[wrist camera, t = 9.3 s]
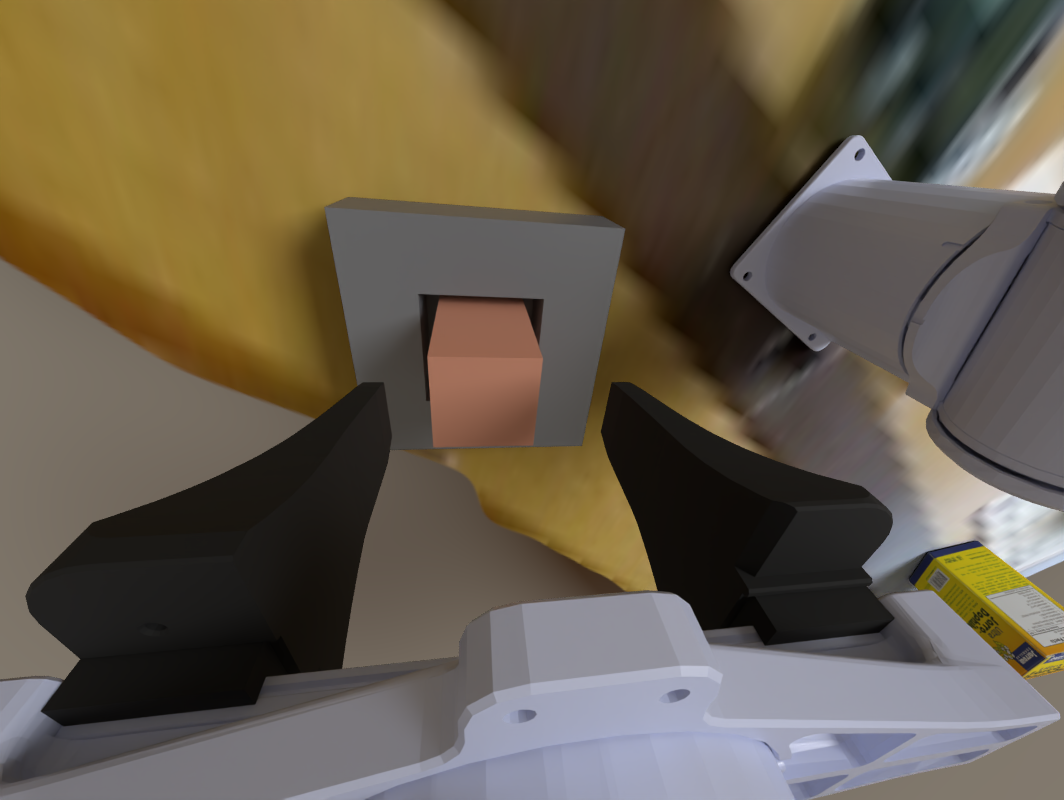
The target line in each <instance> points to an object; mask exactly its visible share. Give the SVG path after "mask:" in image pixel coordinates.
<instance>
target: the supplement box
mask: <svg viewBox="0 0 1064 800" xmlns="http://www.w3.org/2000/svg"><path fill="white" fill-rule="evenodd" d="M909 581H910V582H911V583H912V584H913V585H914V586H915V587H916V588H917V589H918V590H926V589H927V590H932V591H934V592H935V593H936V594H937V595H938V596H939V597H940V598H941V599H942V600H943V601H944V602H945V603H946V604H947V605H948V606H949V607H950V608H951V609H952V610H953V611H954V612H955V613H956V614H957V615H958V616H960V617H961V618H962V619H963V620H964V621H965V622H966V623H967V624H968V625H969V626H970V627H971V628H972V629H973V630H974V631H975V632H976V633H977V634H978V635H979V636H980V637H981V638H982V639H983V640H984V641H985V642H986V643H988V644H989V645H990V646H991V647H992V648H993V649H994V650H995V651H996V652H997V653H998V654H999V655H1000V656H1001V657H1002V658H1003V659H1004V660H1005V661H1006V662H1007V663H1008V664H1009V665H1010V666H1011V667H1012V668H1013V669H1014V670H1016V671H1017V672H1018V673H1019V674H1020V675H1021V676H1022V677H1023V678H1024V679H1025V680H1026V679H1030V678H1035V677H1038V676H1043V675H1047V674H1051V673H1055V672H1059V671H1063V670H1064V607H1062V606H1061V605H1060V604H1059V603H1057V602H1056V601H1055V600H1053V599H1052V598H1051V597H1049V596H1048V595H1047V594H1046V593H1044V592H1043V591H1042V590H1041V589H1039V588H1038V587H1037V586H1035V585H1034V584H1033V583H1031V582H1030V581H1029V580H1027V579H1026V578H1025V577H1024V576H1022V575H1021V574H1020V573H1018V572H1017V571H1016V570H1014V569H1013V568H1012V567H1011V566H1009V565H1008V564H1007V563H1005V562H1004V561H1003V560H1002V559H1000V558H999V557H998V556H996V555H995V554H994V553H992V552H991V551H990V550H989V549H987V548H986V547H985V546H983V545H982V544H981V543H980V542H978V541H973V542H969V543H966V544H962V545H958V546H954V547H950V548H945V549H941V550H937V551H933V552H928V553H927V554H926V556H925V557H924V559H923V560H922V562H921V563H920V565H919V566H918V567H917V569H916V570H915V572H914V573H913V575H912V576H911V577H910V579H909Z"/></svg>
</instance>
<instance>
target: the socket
mask: <svg viewBox="0 0 1064 800" xmlns="http://www.w3.org/2000/svg"><path fill="white" fill-rule="evenodd" d="M325 213H326V218H327V224H328V229H329V234H330V240H331V245H332V251H333V256H334V261H335V267H336V272H337V277H338V283H339V288H340V294H341V299H342V304H343V310H344V315H345V321H346V326H347V331H348V337H349V342H350V348H351V353H352V358H353V364H354V369H355V374H356V380H357V385H360V384H361V383H363V382H384V385H385V392H386V398H387V405H388V412H389V418H390V425H391V432H392V440H391V446H390V450H409V449H456V448H504V447H551V446H582V443H583V438H584V433H585V428H586V423H587V418H588V413H589V408H590V403H591V398H592V393H593V388H594V383H595V378H596V373H597V368H598V363H599V358H600V353H601V348H602V343H603V337H604V332H605V327H606V322H607V317H608V312H609V307H610V302H611V297H612V292H613V287H614V282H615V277H616V272H617V267H618V262H619V257H620V252H621V247H622V242H623V237H624V232H625V228H623V227H621V226H619V225H617V224H615V223H614V222H612V221H610V220H608V219H606V218H604V217H602V216H591V215H578V214H565V213H552V212H539V211H526V210H512V209H499V208H486V207H473V206H460V205H447V204H434V203H421V202H407V201H394V200H381V199H368V198H355V197H347V198H345V199H343V200H340V201H338V202H336V203H333V204H331V205H328V206H326V207H325ZM440 295H457V296H482V297H507V298H522V299H523V301H524V304H525V307H526V310H527V313H528V316H529V319H530V322H531V325H532V328H533V331H534V334H535V337H536V339H537V342H538V345H539V348H540V351H541V354H542V357H543V363H542V372H541V381H540V390H539V398H538V407H537V416H536V425H535V434H534V443H533V445H532V446H479V447H433V434H432V419H431V404H430V389H429V374H428V359H427V356H428V351H429V346H430V341H431V336H432V331H433V326H434V321H435V316H436V311H437V307H438V302H439V297H440Z"/></svg>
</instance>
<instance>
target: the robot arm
mask: <svg viewBox="0 0 1064 800" xmlns="http://www.w3.org/2000/svg"><path fill="white" fill-rule="evenodd" d="M857 151H859V152H858V155H857V157H856V158H854V157H855V154H856V152H857ZM747 272H748V275H747V277H746V278H744V279H743V276H744V274H745V273H747ZM730 275H731V277H732V278H733V279H734V280H735V281H736V282H737V283H739V284H740V285H741V286H742V287H743V288H744V289H745V290H746V291H747V292H749V293H750V294H751V295H752V296H753V297H754V298H755V299H756V300H757V301H758V302H760V303H761V304H762V305H763V306H764V307H765V308H766V309H767V310H768V311H769V312H771V313H772V314H773V315H774V316H775V317H776V318H777V319H778V320H779V321H781V322H782V323H783V324H784V325H785V326H786V327H787V328H788V329H789V330H790V331H792V332H793V333H794V334H795V335H796V336H797V337H798V338H799V339H800V340H802V341H803V342H804V343H805V344H806V345H807V346H808V347H809V348H810V349H812V350H814V351H820V350H822V349H823V348H825V347H826V346H827V345H828V344H829V343H830V342H831V341H833V342H835V343H836V344H838V345H840V346H842V347H844V348H846V349H847V350H849V351H851V352H853V353H855V354H857V355H859V356H860V357H862V358H864V359H866V360H868V361H870V362H872V363H873V364H875V365H877V366H879V367H881V368H883V369H884V370H886V371H888V372H890V373H892V374H894V375H896V376H897V377H899V378H901V379H903V380H905V381H907V382H909V385H908V388H907V390H906V395H908V396H910V397H911V398H913V399H915V400H917V401H918V402H920V403H922V404H924V405H926V406H927V407H929V408H931V411H930V412H929V414H928V417H927V419H926V429H927V431H928V434H929V436H930V438H931V439H932V440H933V442H934V443H935V444H936V446H937V447H938V448H939V449H940V450H941V451H942V452H943V453H944V454H946V455H947V456H948V457H949V458H951V459H952V460H953V461H954V462H955V463H956V464H957V465H959V466H960V467H961V468H963V469H964V470H965V471H967V472H968V473H970V474H971V475H973V476H975V477H976V478H978V479H980V480H982V481H983V482H985V483H987V484H989V485H991V486H993V487H995V488H997V489H999V490H1001V491H1004V492H1006V493H1008V494H1011V495H1013V496H1016V497H1018V498H1021V499H1023V500H1026V501H1029V502H1032V503H1035V504H1038V505H1041V506H1045V507H1048V508H1052V509H1055V510H1059V511H1064V182H1063V183H1062V184H1061V186H1060V188H1059V190H1058V191H1057V193H1056V194H1049V193H1037V192H1025V191H1013V190H1000V189H988V188H976V187H964V186H952V185H940V184H928V183H916V182H904V181H892V179H891V178H890V176H889V175H888V173H887V172H886V170H885V169H884V167H883V166H882V164H881V163H880V161H879V160H878V158H877V157H876V155H875V154H874V152H873V151H872V149H871V148H870V147H869V145H868V144H867V142H866V141H865V139H864V138H863V137H862V136H861V135H853V136H850V137H848V138H847V139H846V140H844V141H843V143H842V144H841V145H840V146H839V147H838V148H837V149H836V150H835V152H834V153H833V154H832V155H831V156H830V157H829V158H828V159H827V161H826V162H825V163H824V164H823V165H822V166H821V167H820V168H819V169H818V171H817V172H816V173H815V174H814V175H813V176H812V177H811V178H810V180H809V181H808V182H807V183H806V184H805V185H804V186H803V187H802V189H801V190H800V191H799V192H798V193H797V194H796V195H795V196H794V198H793V199H792V200H791V201H790V202H789V203H788V204H787V205H786V206H785V208H784V209H783V210H782V211H781V212H780V213H779V214H778V215H777V217H776V218H775V219H774V220H773V221H772V222H771V223H770V224H769V226H768V227H767V228H766V229H765V230H764V231H763V232H762V233H761V235H760V236H759V237H758V238H757V239H756V240H755V241H754V242H753V243H752V245H751V246H750V247H749V248H748V249H747V250H746V251H745V252H744V254H743V255H742V256H741V257H740V258H739V259H738V260H737V261H736V263H735V264H734V265H733V266H732V268H731V271H730ZM811 334H812V335H811ZM810 335H811V336H810ZM809 336H810V337H809ZM601 434H602V437H603V441H604V445H605V448H606V452H607V455H608V458H609V460H610V463H611V465H612V467H613V469H614V472H615V474H616V476H617V478H618V480H619V483H620V485H621V487H622V489H623V491H624V494H625V496H626V498H627V500H628V502H629V505H630V507H631V509H632V511H633V514H634V516H635V519H636V521H637V524H638V527H639V530H640V533H641V536H642V539H643V542H644V546H645V549H646V552H647V555H648V559H649V562H650V565H651V569H652V572H653V576H654V579H655V583H656V587H657V590H658V591H649V590H645V591H633V592H623V593H610V594H599V595H588V596H575V597H564V598H553V599H541V600H530V601H519V602H515V603H511V604H506V605H502V606H498V607H494V608H491V609H490V610H488V611H487V612H485V613H483V614H482V615H480V616H479V617H477V618H475V619H474V620H472V621H471V622H470V623H469V624H468V625H467V626H466V629H465V631H464V633H463V635H462V637H461V639H460V641H459V657H450V658H440V659H431V660H421V661H412V662H403V663H393V664H384V665H374V666H365V667H355V668H346V669H342V665H343V658H344V651H345V644H346V638H347V632H348V626H349V619H350V613H351V607H352V601H353V596H354V590H355V584H356V578H357V573H358V568H359V563H360V558H361V553H362V548H363V543H364V538H365V535H366V531H367V527H368V523H369V520H370V517H371V514H372V511H373V508H374V505H375V502H376V499H377V496H378V492H379V489H380V486H381V483H382V480H383V476H384V473H385V470H386V467H387V464H388V458H389V452H390V446H391V440H392V432H391V425H390V418H389V412H388V405H387V398H386V392H385V385H384V382H363V383H361V384H360V385H358V386H357V387H356V388H355V389H353V390H352V391H351V392H350V393H348V394H347V395H346V396H345V397H343V398H342V399H341V400H340V401H339V402H337V403H336V404H335V405H333V406H332V407H331V408H330V409H328V410H327V411H326V412H325V413H323V414H322V415H321V416H319V417H318V418H317V419H315V420H314V421H312V422H311V423H310V424H308V425H307V426H306V427H304V428H302V429H301V430H300V431H298V432H297V433H295V434H294V435H292V436H291V437H289V438H288V439H286V440H285V441H283V442H281V443H280V444H278V445H276V446H275V447H273V448H271V449H269V450H268V451H266V452H264V453H262V454H261V455H259V456H257V457H255V458H253V459H251V460H249V461H247V462H245V463H243V464H241V465H239V466H237V467H235V468H233V469H231V470H229V471H227V472H225V473H223V474H221V475H219V476H216V477H214V478H212V479H210V480H207V481H205V482H203V483H201V484H198V485H196V486H193V487H191V488H188V489H186V490H183V491H181V492H179V493H176V494H173V495H171V496H168V497H166V498H163V499H160V500H158V501H155V502H152V503H149V504H147V505H143V506H140V507H138V508H134V509H132V510H129V511H126V512H123V513H120V514H117V515H114V516H111V517H108V518H105V519H102V520H99V521H96V522H93V523H92V524H91V525H90V526H89V527H88V528H87V529H86V530H85V531H84V532H83V533H82V534H81V535H80V536H79V537H78V538H77V539H76V540H75V541H74V542H73V543H72V544H71V545H70V546H69V547H68V548H67V549H66V550H65V551H64V552H63V553H62V554H61V555H60V556H59V557H58V558H57V559H56V560H55V561H54V562H53V563H52V564H50V565H49V566H48V568H46V569H45V571H43V573H42V574H40V576H39V577H37V578H36V579H35V580H34V581H33V582H32V583H31V585H30V587H29V589H28V591H27V594H26V600H27V605H28V609H29V612H30V613H31V615H32V616H33V617H34V618H35V619H36V620H37V621H38V623H39V624H40V625H41V626H42V627H44V628H45V629H46V630H47V631H48V632H49V633H51V634H52V635H53V636H54V637H55V638H57V639H58V640H59V641H60V642H61V643H62V644H64V645H65V646H66V647H67V648H68V649H69V650H70V651H72V652H73V653H74V654H75V655H76V656H78V657H79V658H80V660H79V662H78V663H77V665H76V666H75V667H74V668H73V670H72V671H71V672H70V673H69V675H68V676H67V677H66V679H65V680H62V679H60V678H55V677H50V676H31V677H20V678H10V679H0V800H810V799H814V798H818V797H822V796H826V795H829V794H834V793H838V792H842V791H846V790H850V789H854V788H858V787H862V786H866V785H870V784H874V783H878V782H882V781H886V780H890V779H895V778H899V777H903V776H908V775H913V774H917V773H921V772H926V771H931V770H936V769H941V768H946V767H951V766H956V765H961V764H966V763H970V762H972V761H974V760H976V759H978V758H980V757H983V756H985V755H987V754H989V753H991V752H993V751H995V750H997V749H999V748H1001V747H1003V746H1005V745H1008V744H1010V743H1012V742H1014V741H1016V740H1018V739H1020V738H1022V737H1024V736H1026V735H1029V734H1031V733H1033V732H1035V731H1037V730H1039V729H1041V728H1043V727H1045V726H1047V725H1049V724H1052V723H1054V722H1056V721H1058V720H1060V713H1059V712H1058V711H1057V710H1056V709H1055V708H1054V707H1053V706H1052V705H1051V704H1050V703H1049V702H1048V701H1047V700H1046V699H1045V698H1043V697H1042V696H1041V695H1040V694H1039V693H1038V692H1037V691H1036V690H1035V689H1034V688H1033V687H1032V686H1031V685H1030V684H1029V683H1028V682H1027V681H1026V680H1025V679H1024V678H1023V677H1022V676H1021V675H1020V674H1019V673H1018V672H1017V671H1016V670H1014V669H1013V668H1012V667H1011V666H1010V665H1009V664H1008V663H1007V662H1006V661H1005V660H1004V659H1003V658H1002V657H1001V656H1000V655H999V654H998V653H997V652H996V651H995V650H994V649H993V648H992V647H991V646H990V645H989V644H988V643H986V642H985V641H984V640H983V639H982V638H981V637H980V636H979V635H978V634H977V633H976V632H975V631H974V630H973V629H972V628H971V627H970V626H969V625H968V624H967V623H966V622H965V621H964V620H963V619H962V618H961V617H960V616H958V615H957V614H956V613H955V612H954V611H953V610H952V609H951V608H950V607H949V606H948V605H947V604H946V603H945V602H944V601H943V600H942V599H941V598H940V597H939V596H938V595H937V594H936V593H935V592H934V591H932V590H927V589H926V590H916V591H906V592H895V593H890V594H886V595H884V596H882V597H880V598H878V599H877V598H876V597H875V595H874V594H873V593H872V592H871V591H870V590H869V589H868V588H867V587H866V586H870V585H871V583H872V578H871V577H870V576H869V575H868V574H867V573H866V571H865V570H864V569H863V568H862V565H863V564H864V563H865V562H866V561H867V560H868V559H869V558H870V557H871V555H872V554H873V553H874V552H875V551H876V550H877V549H878V548H879V546H880V545H881V544H882V543H883V542H884V540H885V539H886V538H887V536H888V535H889V533H890V530H891V528H892V524H893V519H892V513H891V512H890V511H889V510H888V508H887V507H886V506H884V505H883V504H882V503H881V502H880V501H879V500H878V499H876V498H875V497H874V496H873V495H872V494H871V493H870V492H868V491H867V490H866V489H865V488H863V487H862V486H859V485H855V484H851V483H848V482H844V481H840V480H836V479H832V478H829V477H825V476H821V475H817V474H814V473H811V472H807V471H804V470H801V469H798V468H795V467H792V466H789V465H786V464H783V463H780V462H778V461H775V460H772V459H769V458H767V457H764V456H762V455H759V454H757V453H754V452H752V451H749V450H747V449H745V448H742V447H740V446H738V445H736V444H733V443H731V442H729V441H727V440H725V439H723V438H721V437H719V436H717V435H715V434H713V433H711V432H709V431H707V430H706V429H704V428H702V427H700V426H699V425H697V424H695V423H694V422H692V421H690V420H688V419H687V418H685V417H683V416H682V415H680V414H679V413H677V412H676V411H674V410H672V409H671V408H669V407H668V406H666V405H665V404H663V403H662V402H660V401H659V400H657V399H656V398H654V397H653V396H651V395H650V394H648V393H647V392H645V391H644V390H642V389H640V388H639V387H637V386H635V385H634V384H632V383H630V382H612V384H611V388H610V393H609V397H608V402H607V406H606V411H605V416H604V420H603V425H602V429H601Z"/></svg>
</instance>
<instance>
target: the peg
mask: <svg viewBox="0 0 1064 800" xmlns="http://www.w3.org/2000/svg"><path fill="white" fill-rule="evenodd" d="M427 359H428V374H429V389H430V404H431V419H432V434H433V447H479V446H532V445H533V443H534V434H535V425H536V416H537V407H538V398H539V390H540V381H541V372H542V363H543V357H542V354H541V351H540V348H539V345H538V342H537V339H536V337H535V334H534V331H533V328H532V325H531V322H530V319H529V316H528V313H527V310H526V307H525V304H524V301H523V299H522V298H507V297H482V296H457V295H440V297H439V302H438V307H437V311H436V316H435V321H434V326H433V331H432V336H431V341H430V346H429V351H428V356H427Z"/></svg>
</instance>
